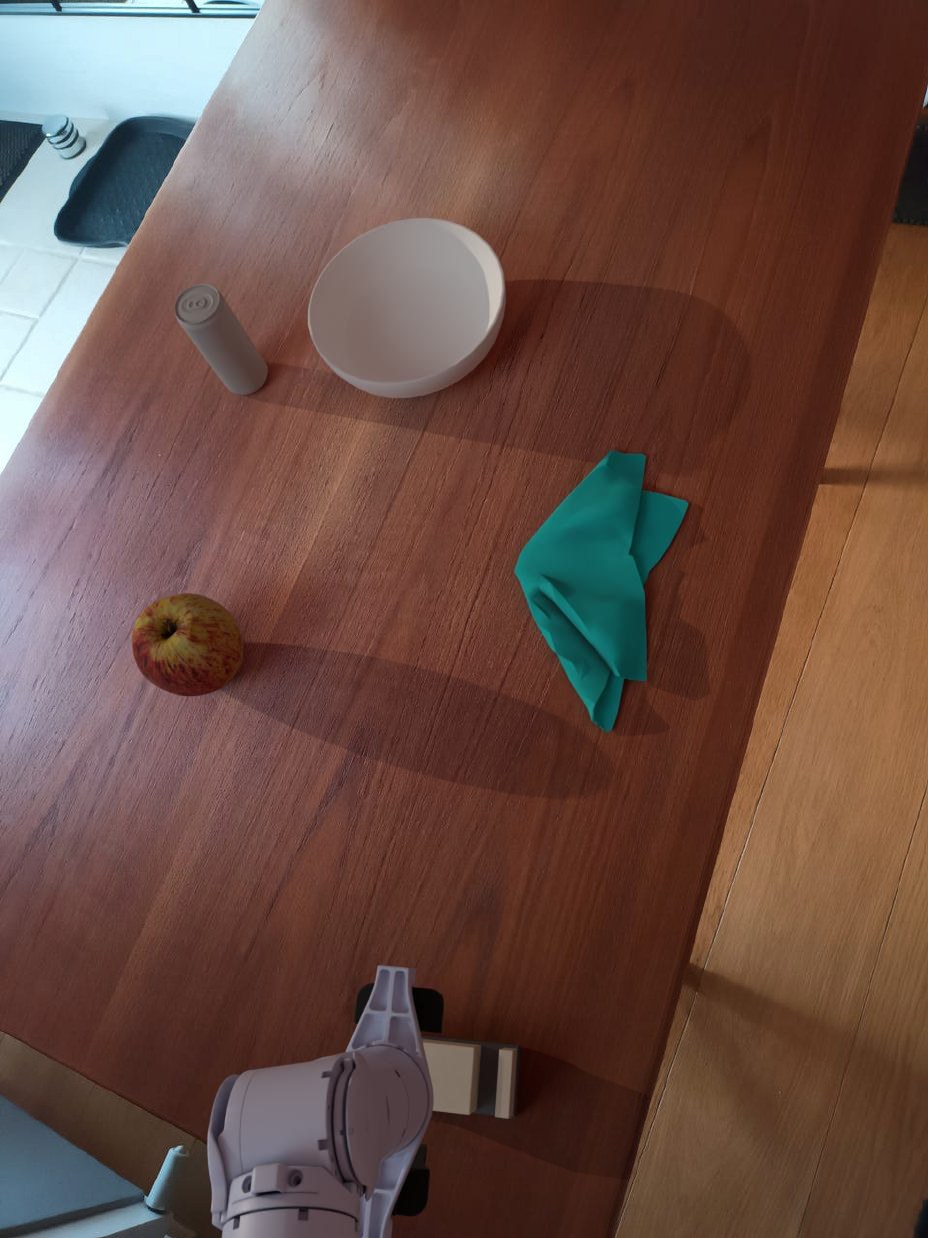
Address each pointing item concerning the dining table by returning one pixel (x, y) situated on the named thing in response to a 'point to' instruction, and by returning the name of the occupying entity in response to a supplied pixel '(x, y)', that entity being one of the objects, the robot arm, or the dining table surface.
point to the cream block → (473, 1076)
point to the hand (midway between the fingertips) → (417, 1083)
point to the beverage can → (220, 338)
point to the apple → (187, 644)
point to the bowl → (408, 307)
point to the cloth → (599, 578)
